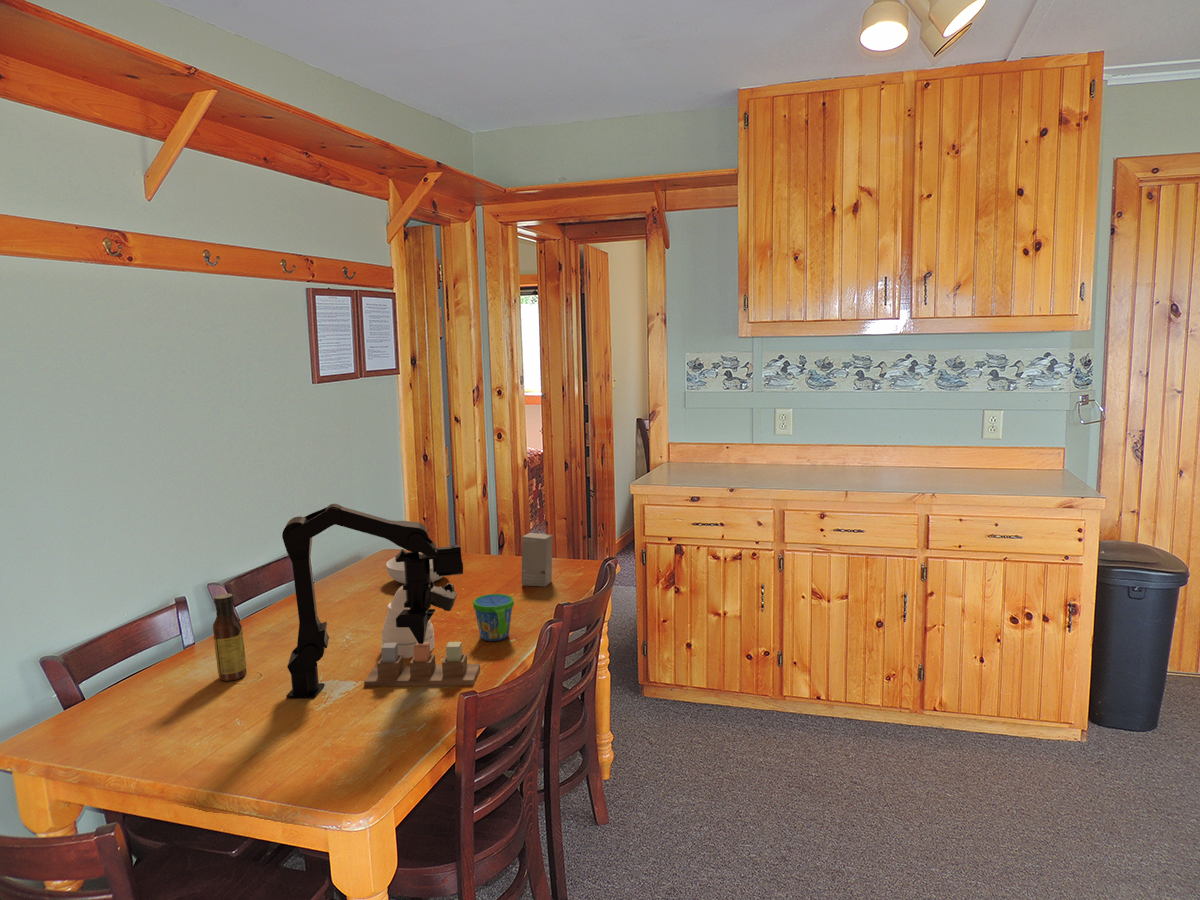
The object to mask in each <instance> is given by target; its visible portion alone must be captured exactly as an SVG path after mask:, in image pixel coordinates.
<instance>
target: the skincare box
mask: <svg viewBox="0 0 1200 900" xmlns="http://www.w3.org/2000/svg"><path fill="white" fill-rule="evenodd" d="M521 539H522V540H521V541H522V543H521V546H522V547H521V585H522V586H527V587H528V586H529V587H543V588H545V587H547V586H549V584H551V583H552V580H553V579H552V578H553V577H552V576H553V575H552V574H553V572H552V571H553V534H547V533H546V534H545V533H535V532H528V533H527V534H524V535H522V538H521Z"/></svg>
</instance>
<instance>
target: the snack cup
mask: <svg viewBox="0 0 1200 900" xmlns="http://www.w3.org/2000/svg"><path fill="white" fill-rule="evenodd" d="M514 605H515V601H514V598H513V596H511V595H508V594H504V593H488V594H483V595H480V596H478V597H476V598H474V600H473V601H472V607H473V609H474V611H475V617H476V622H477V627H478V633H479V636H480V638H481V639H483V640H484V641H485V642H487V641H489V642H499V641H501V640H505V639H506V638H508V637H509V636H510V629H511V621H512V614H513V613H512V611H513V607H514Z"/></svg>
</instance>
